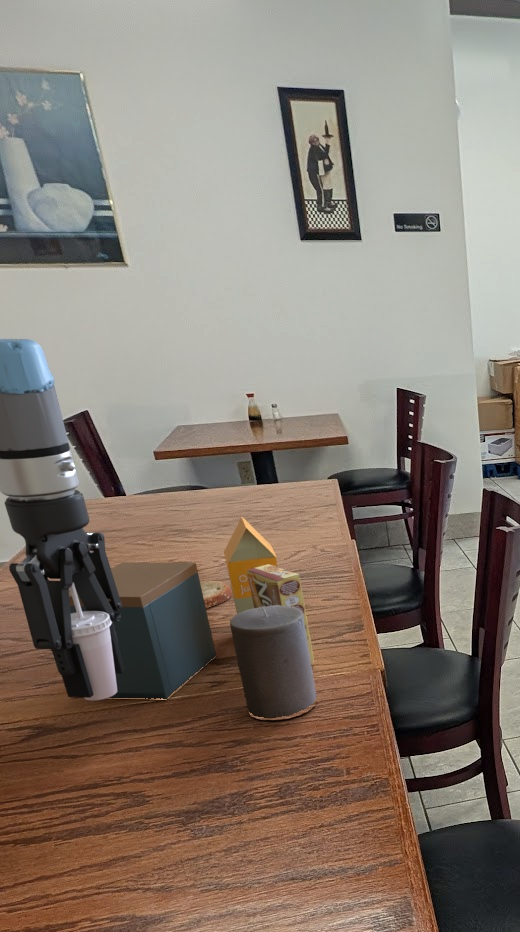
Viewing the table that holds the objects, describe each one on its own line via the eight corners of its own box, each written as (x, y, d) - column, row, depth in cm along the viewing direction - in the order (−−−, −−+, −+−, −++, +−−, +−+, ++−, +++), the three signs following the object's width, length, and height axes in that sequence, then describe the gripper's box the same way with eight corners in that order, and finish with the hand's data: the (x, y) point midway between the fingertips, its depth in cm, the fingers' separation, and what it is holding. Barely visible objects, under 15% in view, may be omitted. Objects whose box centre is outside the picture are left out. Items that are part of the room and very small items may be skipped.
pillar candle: (241, 725, 113) (219, 623, 106) (254, 694, 121) (234, 598, 115) (314, 718, 114) (297, 617, 107) (321, 689, 123) (306, 593, 116)
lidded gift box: (89, 699, 121) (57, 596, 114) (146, 656, 135) (122, 562, 128) (166, 700, 120) (140, 596, 113) (216, 657, 134) (195, 562, 127)
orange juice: (243, 647, 138) (219, 530, 129) (239, 630, 145) (216, 518, 136) (291, 639, 141) (271, 524, 132) (284, 623, 148) (265, 512, 139)
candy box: (316, 666, 130) (301, 573, 124) (293, 674, 127) (276, 580, 121) (285, 652, 135) (269, 563, 129) (262, 660, 133) (244, 569, 126)
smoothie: (135, 680, 104) (108, 574, 98) (120, 703, 98) (89, 592, 92) (81, 684, 103) (49, 577, 97) (62, 707, 97) (27, 595, 91)
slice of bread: (240, 592, 164) (237, 574, 162) (188, 624, 148) (184, 605, 146) (159, 589, 167) (155, 571, 165) (100, 620, 151) (94, 601, 149)
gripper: (16, 515, 81) (80, 721, 91) (123, 475, 98) (166, 653, 108) (-55, 514, 81) (16, 719, 92) (64, 474, 98) (112, 651, 109)
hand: (97, 683), depth 100 cm, fingers closed on smoothie, 6 cm apart
